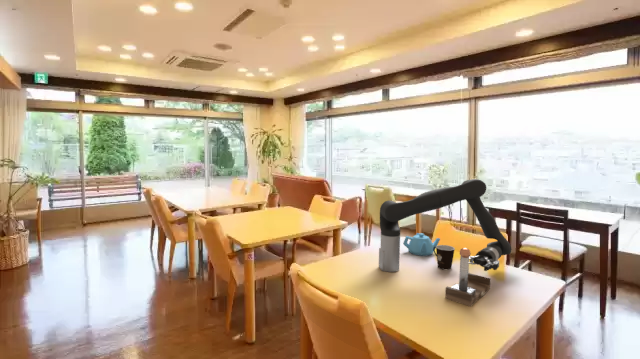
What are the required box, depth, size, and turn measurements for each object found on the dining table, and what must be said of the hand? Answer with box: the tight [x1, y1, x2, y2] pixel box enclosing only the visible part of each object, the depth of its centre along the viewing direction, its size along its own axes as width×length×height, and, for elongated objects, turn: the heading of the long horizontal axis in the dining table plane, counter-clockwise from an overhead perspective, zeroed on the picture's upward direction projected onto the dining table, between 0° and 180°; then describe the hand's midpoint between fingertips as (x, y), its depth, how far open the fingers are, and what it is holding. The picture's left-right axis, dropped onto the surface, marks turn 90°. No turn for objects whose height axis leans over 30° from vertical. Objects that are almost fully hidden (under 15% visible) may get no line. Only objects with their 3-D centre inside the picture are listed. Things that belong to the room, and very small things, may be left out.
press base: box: [444, 272, 492, 307], centre depth 145 cm, size 22×10×4 cm, turn 137°
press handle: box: [450, 247, 476, 296], centre depth 140 cm, size 5×8×18 cm, turn 47°
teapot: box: [402, 232, 441, 257], centre depth 198 cm, size 15×15×11 cm
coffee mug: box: [433, 244, 456, 271], centre depth 176 cm, size 12×9×10 cm
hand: (474, 266), depth 148 cm, fingers open, 8 cm apart
